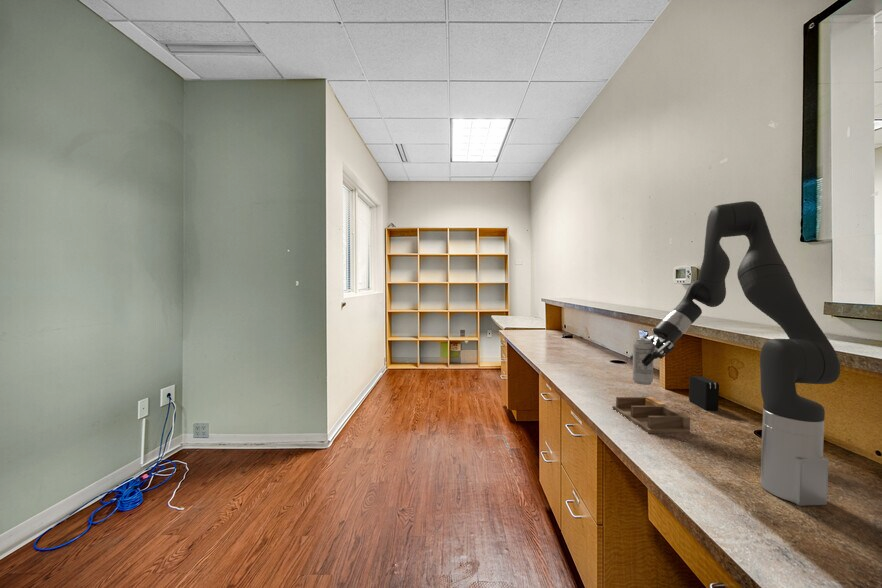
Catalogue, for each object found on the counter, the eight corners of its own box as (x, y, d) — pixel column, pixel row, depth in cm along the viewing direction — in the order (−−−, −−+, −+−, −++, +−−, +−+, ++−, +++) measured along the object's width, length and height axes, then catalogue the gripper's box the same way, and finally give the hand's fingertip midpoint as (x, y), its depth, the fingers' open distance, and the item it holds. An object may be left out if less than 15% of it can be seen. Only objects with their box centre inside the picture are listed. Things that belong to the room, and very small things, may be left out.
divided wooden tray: (689, 432, 105) (690, 416, 105) (648, 433, 104) (648, 417, 104) (647, 408, 125) (647, 395, 125) (612, 408, 124) (612, 395, 124)
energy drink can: (653, 382, 119) (653, 338, 119) (652, 386, 114) (653, 341, 114) (633, 379, 123) (633, 337, 122) (631, 383, 118) (632, 339, 117)
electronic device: (700, 401, 132) (701, 375, 132) (718, 411, 123) (719, 383, 122) (688, 401, 133) (689, 375, 133) (705, 410, 123) (706, 382, 123)
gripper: (651, 317, 125) (618, 350, 125) (680, 321, 111) (643, 358, 111) (664, 331, 126) (632, 364, 125) (695, 338, 111) (659, 375, 111)
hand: (637, 361), depth 118 cm, fingers closed on energy drink can, 6 cm apart
